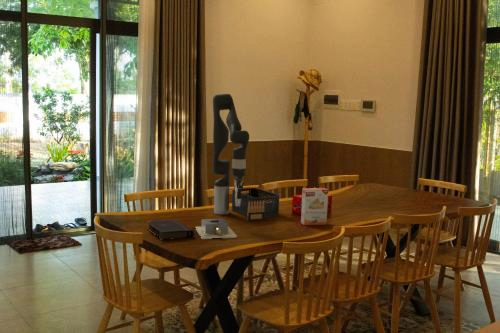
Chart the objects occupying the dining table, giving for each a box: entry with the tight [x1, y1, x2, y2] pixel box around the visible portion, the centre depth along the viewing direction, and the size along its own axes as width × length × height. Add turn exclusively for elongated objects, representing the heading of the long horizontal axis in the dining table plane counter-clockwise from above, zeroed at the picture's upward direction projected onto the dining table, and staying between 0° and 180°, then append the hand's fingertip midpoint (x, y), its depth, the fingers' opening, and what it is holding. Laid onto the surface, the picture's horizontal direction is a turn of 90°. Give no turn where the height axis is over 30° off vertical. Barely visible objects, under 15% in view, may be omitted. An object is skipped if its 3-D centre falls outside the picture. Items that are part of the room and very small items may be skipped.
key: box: [235, 183, 241, 206], centre depth 310 cm, size 4×4×12 cm
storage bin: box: [231, 187, 280, 219], centre depth 351 cm, size 29×19×13 cm
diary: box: [146, 219, 195, 239], centre depth 298 cm, size 19×25×5 cm
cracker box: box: [300, 187, 329, 226], centre depth 325 cm, size 14×6×21 cm, turn 105°
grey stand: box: [195, 218, 238, 240], centre depth 300 cm, size 22×18×6 cm
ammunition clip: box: [246, 199, 266, 222], centre depth 331 cm, size 11×2×12 cm, turn 111°
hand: (238, 197), depth 310 cm, fingers closed on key, 3 cm apart
